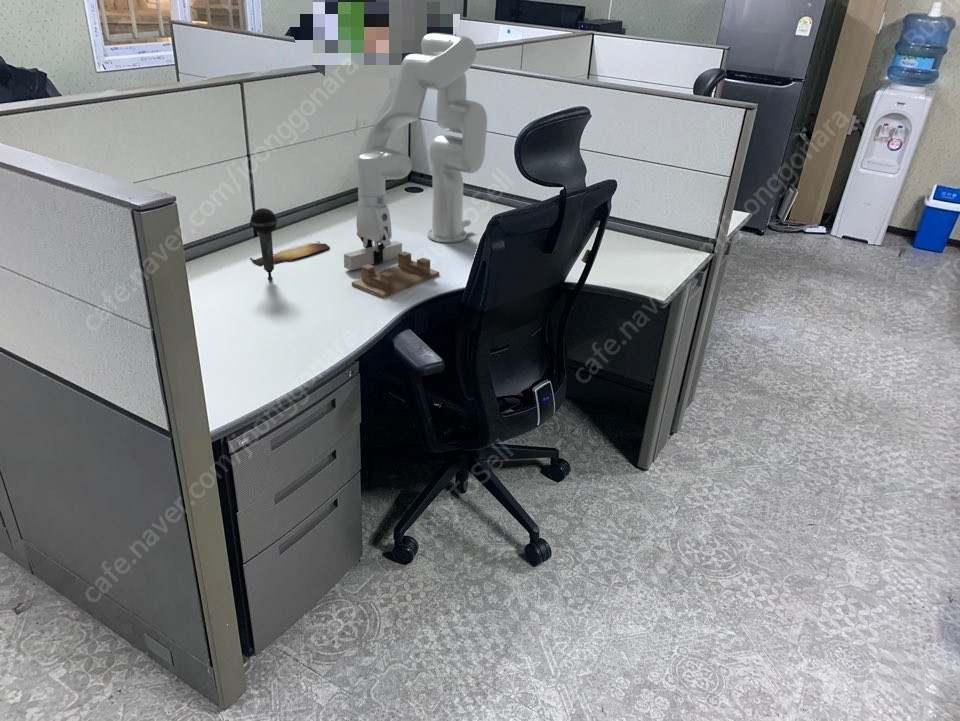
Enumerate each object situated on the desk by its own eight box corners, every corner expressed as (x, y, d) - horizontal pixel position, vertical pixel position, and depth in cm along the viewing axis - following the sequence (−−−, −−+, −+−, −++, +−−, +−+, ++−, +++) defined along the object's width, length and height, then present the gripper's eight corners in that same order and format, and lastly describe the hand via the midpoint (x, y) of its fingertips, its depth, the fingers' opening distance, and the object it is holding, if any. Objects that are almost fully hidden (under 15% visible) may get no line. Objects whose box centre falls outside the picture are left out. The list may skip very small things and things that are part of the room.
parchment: (318, 241, 224) (318, 238, 223) (337, 249, 218) (337, 246, 217) (246, 261, 208) (246, 258, 208) (264, 270, 202) (264, 267, 202)
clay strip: (394, 253, 217) (394, 240, 215) (401, 256, 215) (402, 243, 214) (344, 267, 203) (344, 253, 201) (351, 270, 201) (351, 256, 199)
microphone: (260, 287, 191) (251, 214, 181) (254, 278, 196) (245, 206, 186) (286, 283, 193) (279, 211, 184) (280, 274, 199) (272, 203, 189)
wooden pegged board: (408, 264, 209) (408, 247, 207) (439, 275, 203) (439, 258, 200) (351, 285, 194) (350, 268, 192) (383, 298, 188) (382, 280, 185)
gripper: (402, 203, 199) (403, 265, 207) (362, 191, 207) (364, 251, 216) (382, 208, 193) (384, 272, 202) (342, 196, 202) (345, 258, 211)
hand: (374, 261), depth 209 cm, fingers closed on clay strip, 2 cm apart
